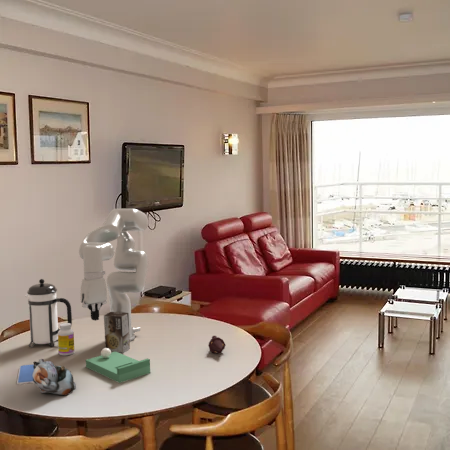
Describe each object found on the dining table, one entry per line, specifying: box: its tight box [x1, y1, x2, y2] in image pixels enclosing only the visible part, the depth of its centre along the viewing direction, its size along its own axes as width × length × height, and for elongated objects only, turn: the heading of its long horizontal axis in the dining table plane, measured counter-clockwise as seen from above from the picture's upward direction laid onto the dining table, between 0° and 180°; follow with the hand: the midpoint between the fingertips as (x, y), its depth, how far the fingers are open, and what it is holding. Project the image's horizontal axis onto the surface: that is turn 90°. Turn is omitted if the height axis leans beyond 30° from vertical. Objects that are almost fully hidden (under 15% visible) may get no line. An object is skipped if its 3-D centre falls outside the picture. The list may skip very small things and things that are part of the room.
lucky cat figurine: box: [32, 358, 77, 396], centre depth 200 cm, size 15×12×14 cm
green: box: [85, 351, 151, 384], centre depth 221 cm, size 14×24×5 cm, turn 44°
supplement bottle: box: [57, 322, 75, 356], centre depth 241 cm, size 7×7×13 cm
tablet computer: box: [16, 364, 34, 386], centre depth 219 cm, size 19×13×1 cm, turn 17°
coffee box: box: [103, 311, 131, 353], centre depth 245 cm, size 9×6×16 cm
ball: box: [100, 347, 112, 358], centre depth 227 cm, size 4×4×4 cm
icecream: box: [208, 335, 226, 354], centre depth 240 cm, size 7×7×15 cm
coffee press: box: [25, 278, 73, 349], centre depth 255 cm, size 17×16×30 cm
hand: (95, 319), depth 230 cm, fingers closed
